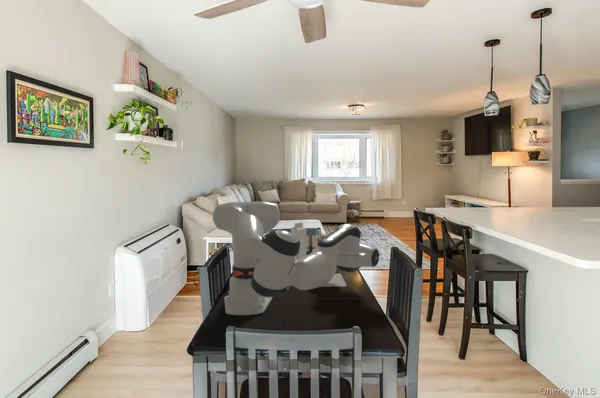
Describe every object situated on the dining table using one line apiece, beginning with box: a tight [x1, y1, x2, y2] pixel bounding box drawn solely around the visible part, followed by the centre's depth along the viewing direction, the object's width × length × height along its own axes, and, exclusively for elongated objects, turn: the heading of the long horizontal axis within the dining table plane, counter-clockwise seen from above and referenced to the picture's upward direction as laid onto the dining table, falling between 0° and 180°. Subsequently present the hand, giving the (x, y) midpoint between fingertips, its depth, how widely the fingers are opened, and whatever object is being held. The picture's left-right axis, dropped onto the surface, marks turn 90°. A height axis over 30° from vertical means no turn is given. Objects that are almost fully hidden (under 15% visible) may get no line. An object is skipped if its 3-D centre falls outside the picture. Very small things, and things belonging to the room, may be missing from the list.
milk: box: [290, 221, 307, 259], centre depth 194 cm, size 6×6×22 cm
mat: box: [319, 273, 348, 288], centre depth 164 cm, size 18×17×1 cm
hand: (323, 245), depth 164 cm, fingers closed on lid, 5 cm apart
